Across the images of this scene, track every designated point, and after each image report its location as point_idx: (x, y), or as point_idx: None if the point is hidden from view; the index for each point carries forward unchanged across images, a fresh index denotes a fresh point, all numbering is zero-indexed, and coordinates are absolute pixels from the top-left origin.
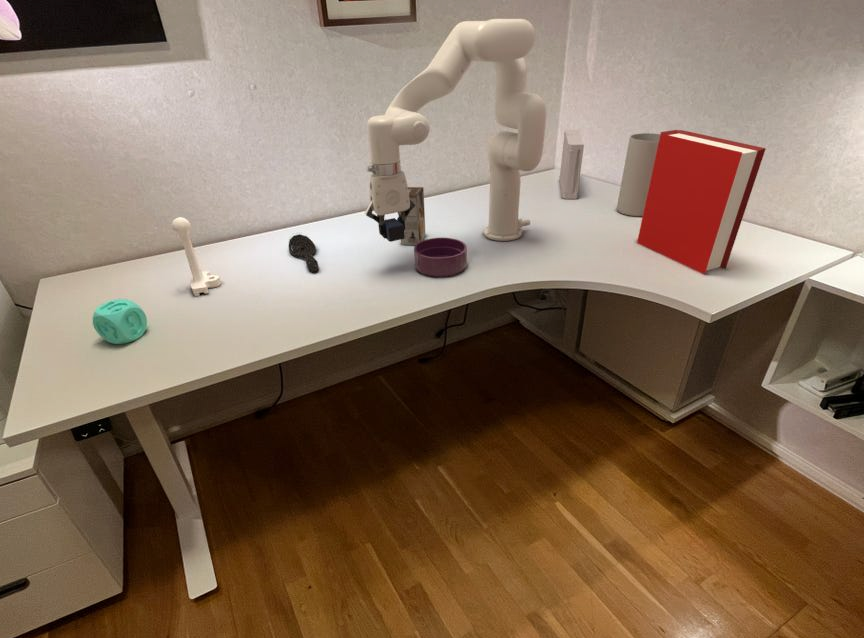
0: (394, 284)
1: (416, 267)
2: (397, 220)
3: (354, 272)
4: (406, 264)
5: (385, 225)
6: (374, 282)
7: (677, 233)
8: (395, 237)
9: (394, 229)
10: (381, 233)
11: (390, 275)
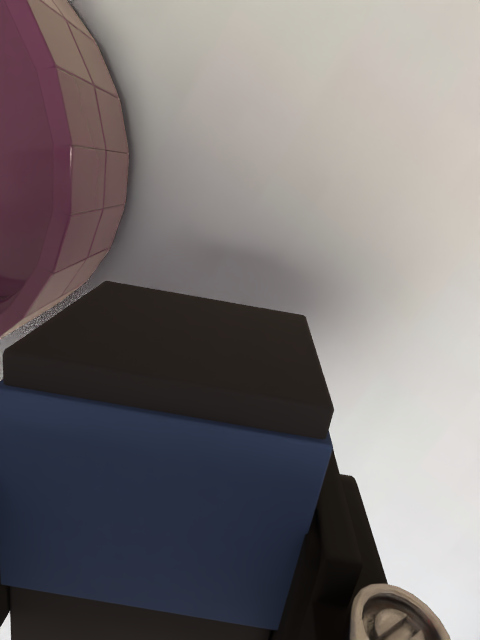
0: (359, 105)
1: (123, 190)
2: (7, 602)
3: (441, 414)
4: None
5: (313, 546)
6: (440, 223)
7: None
8: (223, 315)
9: (215, 368)
10: (353, 482)
11: (301, 247)
